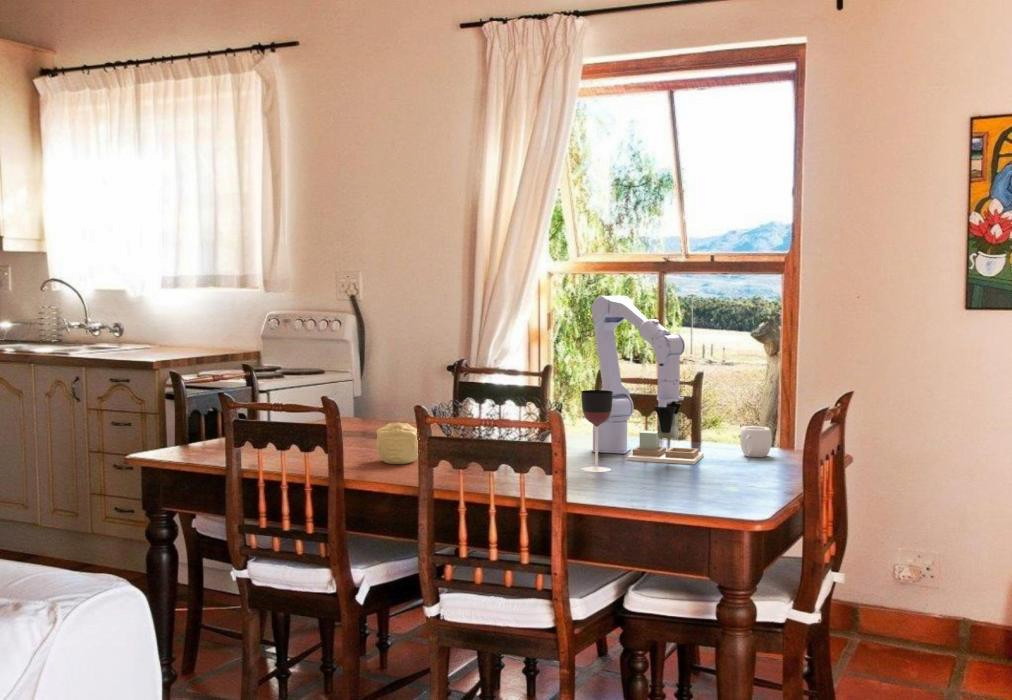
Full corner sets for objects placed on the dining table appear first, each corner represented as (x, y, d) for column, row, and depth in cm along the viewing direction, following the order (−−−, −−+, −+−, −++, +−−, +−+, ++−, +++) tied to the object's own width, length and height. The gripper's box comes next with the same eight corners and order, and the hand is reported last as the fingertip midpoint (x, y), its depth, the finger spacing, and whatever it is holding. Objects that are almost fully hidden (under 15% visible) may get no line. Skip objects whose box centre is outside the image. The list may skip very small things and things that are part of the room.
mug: (746, 452, 294) (747, 424, 293) (775, 455, 289) (776, 427, 289) (730, 458, 284) (730, 429, 283) (760, 461, 279) (760, 432, 279)
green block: (657, 437, 276) (658, 415, 275) (661, 435, 280) (661, 413, 280) (674, 438, 274) (674, 415, 274) (678, 436, 278) (678, 413, 278)
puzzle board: (627, 460, 281) (627, 434, 280) (639, 452, 294) (639, 427, 293) (693, 464, 274) (694, 438, 274) (703, 456, 287) (703, 431, 287)
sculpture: (373, 466, 271) (373, 425, 271) (379, 458, 283) (379, 419, 283) (417, 466, 271) (417, 425, 271) (422, 458, 283) (421, 419, 282)
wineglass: (585, 472, 262) (585, 393, 261) (577, 466, 271) (577, 390, 270) (615, 472, 264) (616, 393, 262) (607, 465, 272) (607, 389, 271)
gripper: (677, 383, 268) (676, 435, 269) (689, 378, 281) (688, 428, 282) (650, 382, 270) (650, 434, 271) (663, 377, 284) (662, 427, 285)
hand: (667, 431), depth 277 cm, fingers closed on green block, 4 cm apart
